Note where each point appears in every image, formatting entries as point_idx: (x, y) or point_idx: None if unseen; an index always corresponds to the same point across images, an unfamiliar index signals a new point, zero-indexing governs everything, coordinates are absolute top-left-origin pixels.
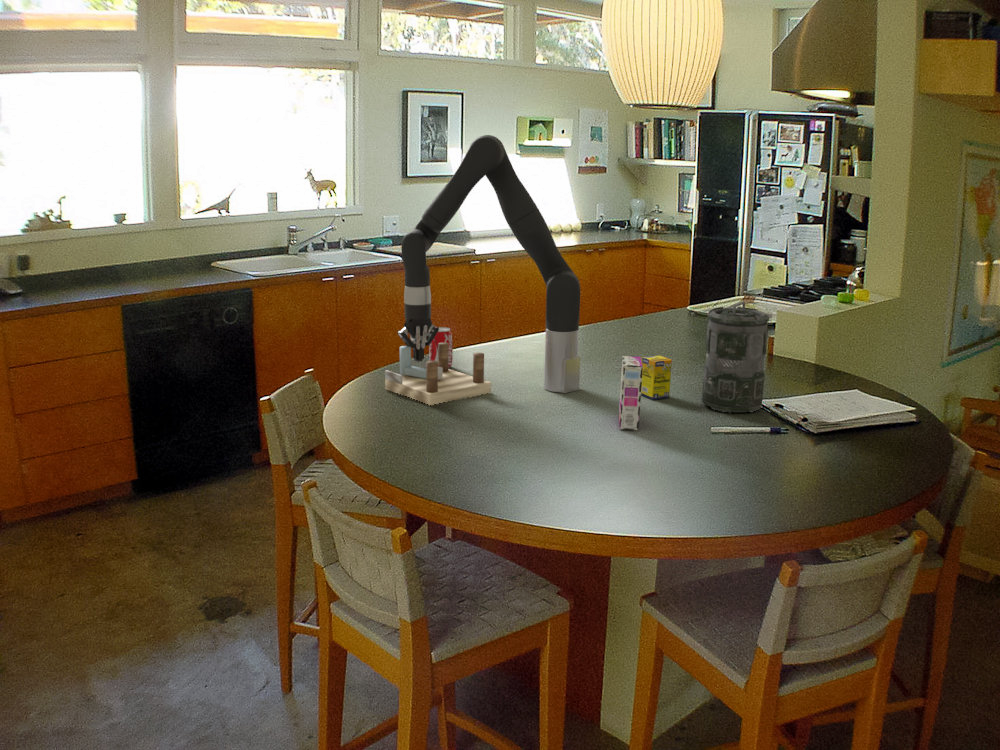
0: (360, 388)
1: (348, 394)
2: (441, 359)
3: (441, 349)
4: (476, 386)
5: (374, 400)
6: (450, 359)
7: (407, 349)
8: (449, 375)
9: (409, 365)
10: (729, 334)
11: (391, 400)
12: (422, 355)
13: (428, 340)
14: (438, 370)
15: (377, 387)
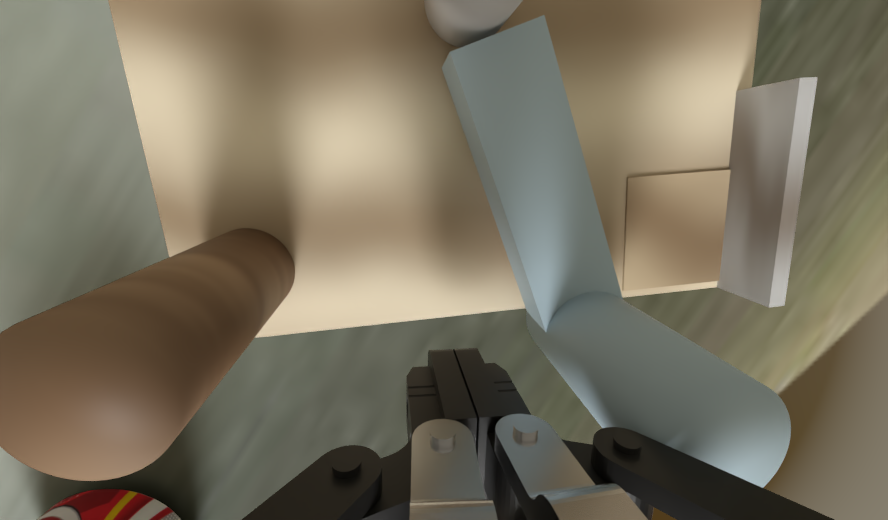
0: (762, 346)
1: (874, 275)
2: (247, 274)
3: (196, 313)
4: None
5: (869, 85)
6: None
7: (727, 372)
8: (284, 98)
9: (592, 298)
10: None
11: (807, 20)
12: (437, 375)
13: (343, 509)
14: None
15: (688, 320)
